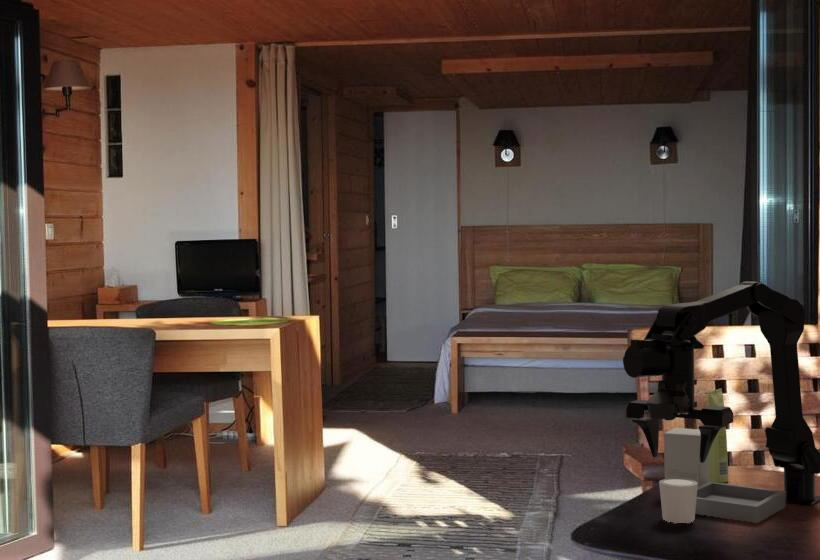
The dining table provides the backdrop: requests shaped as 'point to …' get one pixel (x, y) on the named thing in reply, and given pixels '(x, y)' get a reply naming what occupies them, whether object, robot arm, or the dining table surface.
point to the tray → (738, 502)
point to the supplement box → (684, 456)
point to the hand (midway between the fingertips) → (678, 459)
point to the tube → (718, 445)
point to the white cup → (678, 500)
